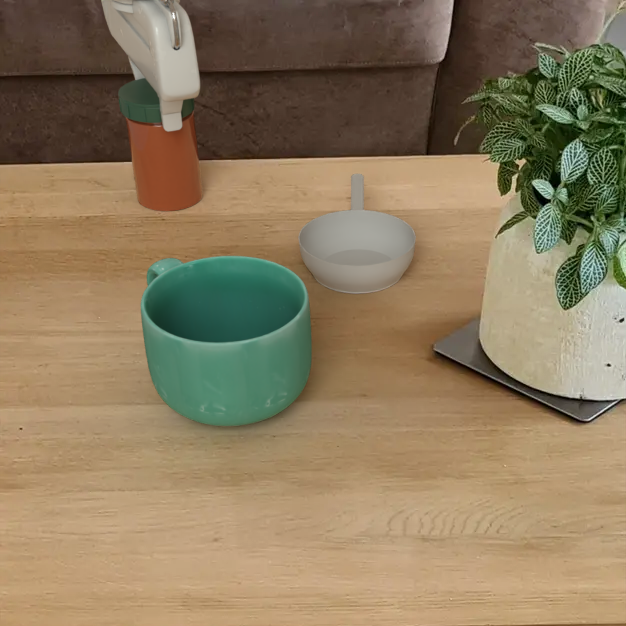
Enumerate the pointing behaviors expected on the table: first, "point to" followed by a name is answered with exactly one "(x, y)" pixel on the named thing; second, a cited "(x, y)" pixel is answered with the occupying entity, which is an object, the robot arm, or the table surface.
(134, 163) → the jam jar
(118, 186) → the table surface
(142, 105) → the jar lid
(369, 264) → the small pan
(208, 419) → the mug
